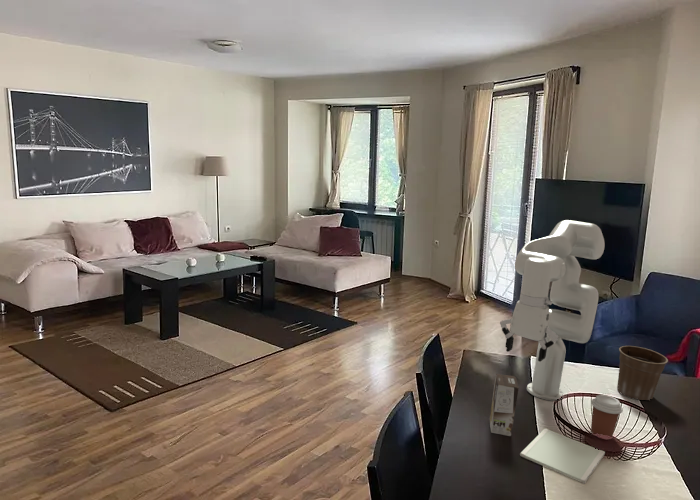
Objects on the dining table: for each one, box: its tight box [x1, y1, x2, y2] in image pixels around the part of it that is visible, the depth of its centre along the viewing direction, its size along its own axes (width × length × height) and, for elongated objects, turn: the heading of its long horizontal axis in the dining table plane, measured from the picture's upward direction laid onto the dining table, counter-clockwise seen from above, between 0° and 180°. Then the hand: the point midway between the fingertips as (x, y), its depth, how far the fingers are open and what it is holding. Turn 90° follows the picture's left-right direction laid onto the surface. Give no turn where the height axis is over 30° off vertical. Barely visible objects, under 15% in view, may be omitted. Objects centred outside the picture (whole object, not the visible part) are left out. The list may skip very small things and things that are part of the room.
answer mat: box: [519, 427, 606, 484], centre depth 160 cm, size 20×18×1 cm
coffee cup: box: [590, 394, 624, 436], centre depth 173 cm, size 9×9×12 cm
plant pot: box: [616, 345, 669, 401], centre depth 205 cm, size 16×16×16 cm
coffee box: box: [489, 373, 520, 437], centre depth 171 cm, size 9×6×16 cm
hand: (524, 355), depth 163 cm, fingers open, 9 cm apart
